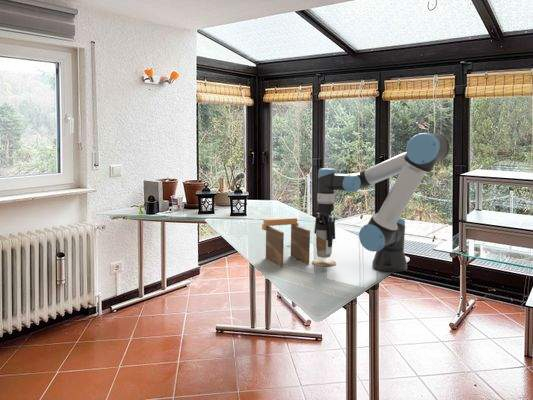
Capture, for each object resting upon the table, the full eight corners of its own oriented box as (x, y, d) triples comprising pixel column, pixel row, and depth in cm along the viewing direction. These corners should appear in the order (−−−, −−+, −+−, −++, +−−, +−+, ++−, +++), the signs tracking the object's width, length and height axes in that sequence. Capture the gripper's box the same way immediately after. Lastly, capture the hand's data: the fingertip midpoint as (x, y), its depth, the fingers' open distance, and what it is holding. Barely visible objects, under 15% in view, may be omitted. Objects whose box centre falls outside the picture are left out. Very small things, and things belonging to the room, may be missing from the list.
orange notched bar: (295, 226, 246) (295, 217, 245) (298, 228, 243) (298, 218, 242) (262, 229, 239) (262, 219, 238) (264, 230, 236) (264, 220, 235)
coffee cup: (311, 255, 232) (311, 223, 230) (323, 253, 237) (324, 221, 235) (324, 259, 226) (325, 226, 224) (336, 256, 231) (337, 224, 229)
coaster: (328, 259, 239) (328, 258, 239) (340, 265, 229) (340, 264, 229) (307, 261, 235) (307, 260, 235) (319, 267, 225) (319, 266, 225)
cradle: (292, 255, 246) (293, 224, 244) (309, 264, 231) (310, 230, 229) (265, 258, 240) (266, 226, 238) (280, 267, 225) (281, 232, 223)
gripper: (307, 199, 236) (306, 247, 239) (329, 205, 218) (328, 257, 221) (321, 199, 239) (320, 246, 242) (344, 205, 220) (342, 256, 224)
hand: (324, 251), depth 231 cm, fingers closed on coffee cup, 7 cm apart
